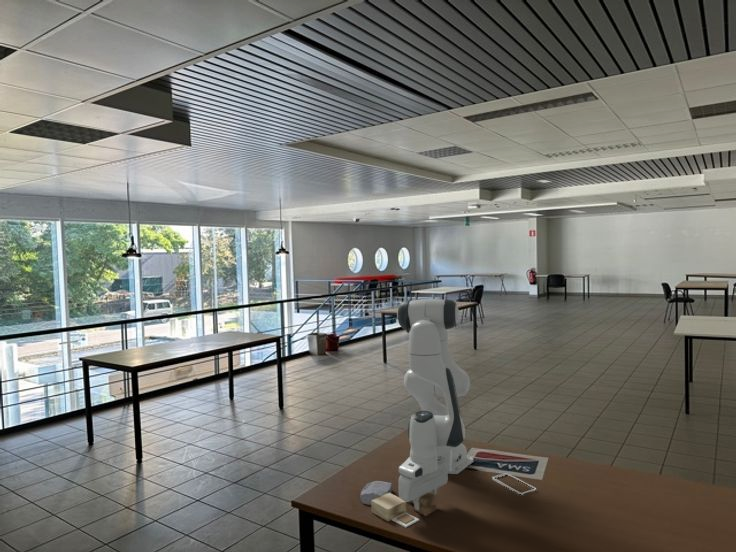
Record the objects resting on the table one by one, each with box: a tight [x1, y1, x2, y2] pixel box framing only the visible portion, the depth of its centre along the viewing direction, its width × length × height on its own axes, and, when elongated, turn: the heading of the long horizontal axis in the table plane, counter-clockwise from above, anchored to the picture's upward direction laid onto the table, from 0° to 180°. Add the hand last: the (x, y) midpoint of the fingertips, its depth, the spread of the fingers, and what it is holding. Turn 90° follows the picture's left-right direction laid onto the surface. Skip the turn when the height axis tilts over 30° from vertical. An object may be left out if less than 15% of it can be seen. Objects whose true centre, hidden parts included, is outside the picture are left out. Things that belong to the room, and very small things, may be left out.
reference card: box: [391, 512, 420, 528], centre depth 152 cm, size 6×6×1 cm
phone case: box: [491, 472, 537, 496], centre depth 174 cm, size 7×1×15 cm
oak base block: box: [370, 492, 408, 522], centre depth 158 cm, size 8×8×4 cm
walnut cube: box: [413, 492, 437, 517], centre depth 158 cm, size 5×5×5 cm
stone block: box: [359, 480, 393, 506], centre depth 168 cm, size 12×5×10 cm
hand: (424, 505), depth 158 cm, fingers closed on walnut cube, 5 cm apart
